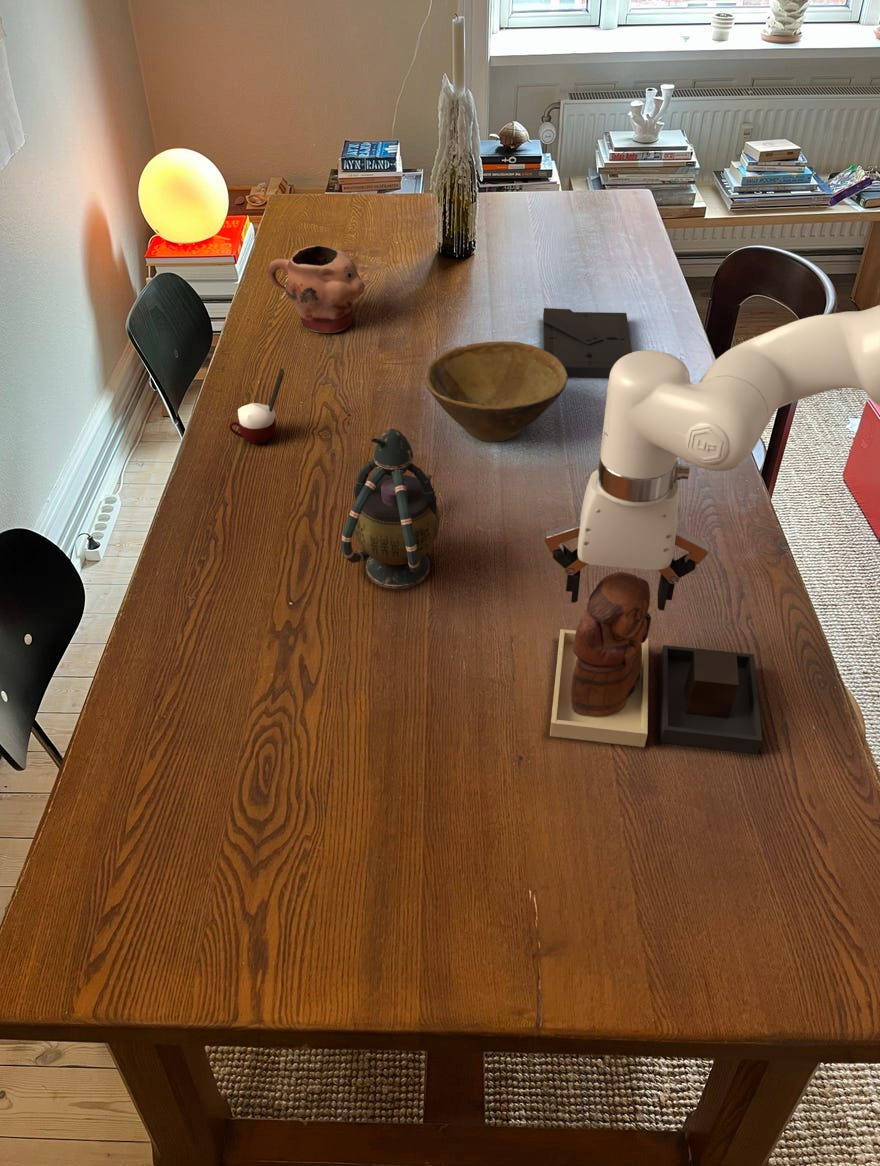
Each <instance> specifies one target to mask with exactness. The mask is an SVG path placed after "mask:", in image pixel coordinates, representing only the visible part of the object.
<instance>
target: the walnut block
mask: <svg viewBox="0 0 880 1166" xmlns="http://www.w3.org/2000/svg"><path fill="white" fill-rule="evenodd" d="M738 686H739V682H738V669H737V656H736V655H733V654H723V653H713V652H704V651H694V652H693V656H692V660H691V664H690V668H689V672H688V676H687V680H686V684H685V688H686V714H692V715H701V716H710V717H719V718H729V715H730V712H731V709H732V706H733V702H734V699H735V696H736V692H737V689H738Z"/></svg>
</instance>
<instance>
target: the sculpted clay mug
mask: <svg viewBox="0 0 880 1166" xmlns="http://www.w3.org/2000/svg"><path fill="white" fill-rule="evenodd" d="M278 270H283V271H284V272H285V273H286V274H287V279H286V282H285V286H284V285H282V284H281V283H280V282H279V280H278V279H277V271H278ZM267 272H268V276H269V279H270V280H271V283H272V284H273V285H274V286H275V287H278V288H279V289H281V290H282V291H283V292H284V293H285V294H286V296H287V299H288V300H289V301H290V303H291V304H292V305H293V306H294V308H295V310H296V312H297V313H298V316H299V318H300V321H301V324H302V326H303V327H304V329H306V330H309V331H311V332H315V333H323V334H334V333H339V332H341V331H343V330H345V329H346V328H348V327H349V326H351V325H352V322H353V319H354V308H353V303H354V301H355V300H357V299H358V298H359V297H361V296H362V295H363V294H364V292H365V289H366V285H365V282H364V281H363V280H362V278H361V275H360V274H359V272H358V269H357V267H356V264H355V262H354V261H353V260H352V259H351V258H350V257H349V256H348V255H347V254H346V252H345V251H342V250H339V249H336V248H334V247H330V246H327V245H310V246H306V247H303V248H300V249H298V250H296V251H295V252H294V253H292V254H291V256H290V258H276V259H274V260H272V261H271V262H270V263H269V265H268V267H267Z"/></svg>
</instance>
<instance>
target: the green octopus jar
mask: <svg viewBox="0 0 880 1166" xmlns="http://www.w3.org/2000/svg"><path fill="white" fill-rule="evenodd" d="M370 442H371V443H375V444H376V445H375V448H374V453H373V459H371V461H370V460H369V461H367V463H365V465H364V466H363V467H362V468H361V469H359V471H358V475H357V478H356V479H355V485H354V487H353V493H354V503H353V505H352V507H351V509H350V512H349V514H348V517H347V520H346V522H345V525H344V528H343V531H342V536H341V542H340V545H341V552H342V554H343V556H344V558H345V559H346V560H347V561H348V562H350V563H351V564H354V563H355V564H356V563H360V562H366V565H365V569H366V573H367V576H368V577H369V578H370V579H371V581H372V582H373V583H375V584H377V585H379V586H381V587H384V588H388V589H397V590H398V589H399V590H401V589H406V588H411V587H413V586H416V585H418V584H420V583H421V582H422V581H424V580H425V579H426V577H428V574H429V573H430V566H431V564H430V563H431V562H430V560H429V558H428V556H427V555H426V554H427V553H428V552H429V551H430V549H431V548H432V546H433V544H434V543H435V541H436V540H437V539H438V534H439V529H440V521H441V515H440V514H441V513H440V509H439V506H438V504H437V496H436V492H435V488H434V487H433V485H432V482H431V480H432V477H433V475H431V474H429V473H424V471H423V470H422V469H421V467H418V466H416V465H415V464H413V460H414V451H413V449H412V447H411V445H410V442H409V440H408V439H407V437H406V436H405V435H404V434H403V433H402V432H401V431H399V430H397V429H395V428H390V429H388V430H386V431H385V432H384V433H383V434H382V435H381V436H380V437H379V438H378V437H377V438H372V439H371V440H370ZM375 468H376V469H375ZM374 469H375V470H374ZM372 471H373V473H372V474H371V475H370V473H371V472H372ZM407 471H409V472H410V473H412V474H413V475H414V476H412V475H408V474H406V472H407ZM369 475H370V476H369ZM354 534H355V538H356V539H355V540H356V542H357V543H358V545H359V546H360V547H361V549H360V550H359V551H358V552H355V551H354V549H353V545H352V540H353V536H354Z"/></svg>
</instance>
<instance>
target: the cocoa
mask: <svg viewBox="0 0 880 1166" xmlns="http://www.w3.org/2000/svg"><path fill="white" fill-rule="evenodd" d="M284 370H285V369H283V368H280V370H279V372H278V375H277V379H276V381H275V386H274V389H273V391H272V395H271V398H270V401H269V404H268V405H267V404H263V403H260V402H251V403H249V404H246V405H243V406H241V407H239V408H238V409H237V417H238V418H237V421H231V422H230V423H229V430H230V431H231V432H232V433H233V434H234V435H236V436H238V437H240V438H244V440H245V441H247V442H248V443H251V444H254V445H255V444H256V445H261V444H265V443H267V442H268V441H270V440H271V439H272V438H273V437H274V435H275V432H276V426H277V425H276V424H277V421H276V420H277V419H276V415H277V413H276V410H275V409H274V407H275V404H276V400H277V397H278V394H279V391H280V387H281V385H282V382H283V378H284V376H285V371H284ZM233 426H237V427H238V429H239V432H238V431H236V430H235V429H233Z"/></svg>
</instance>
